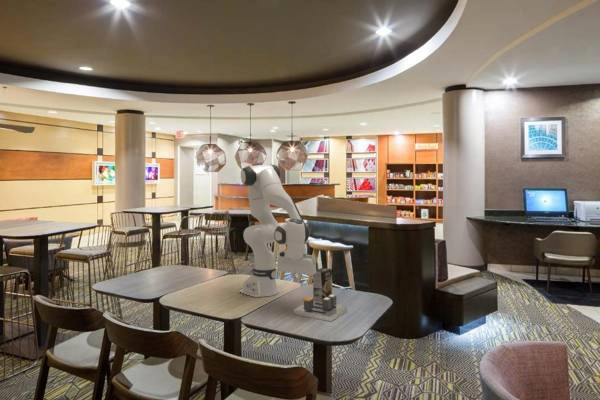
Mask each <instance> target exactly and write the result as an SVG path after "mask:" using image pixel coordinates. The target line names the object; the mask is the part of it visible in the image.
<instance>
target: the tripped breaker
mask: <svg viewBox="0 0 600 400" xmlns="http://www.w3.org/2000/svg"><path fill="white" fill-rule="evenodd" d="M303 304H304V310H308V311H310V310H312V309H313V297H310V296H309V297H308V296H306V297H305V298H304V299H303Z"/></svg>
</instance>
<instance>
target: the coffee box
mask: <svg viewBox="0 0 600 400" xmlns="http://www.w3.org/2000/svg"><path fill="white" fill-rule="evenodd" d="M312 278H313V280H312V284H313V285H312V287H313V288H312V289H313V290H312V291H313V293H312V295H313V297H312V298H313V300H314V301H317V302H322V300H323V299H324V298H326V297H328V296H330V295H333V269H332V268H328V267H321V268H318V269H317V268H316V273H315V274H314V275H312Z"/></svg>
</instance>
